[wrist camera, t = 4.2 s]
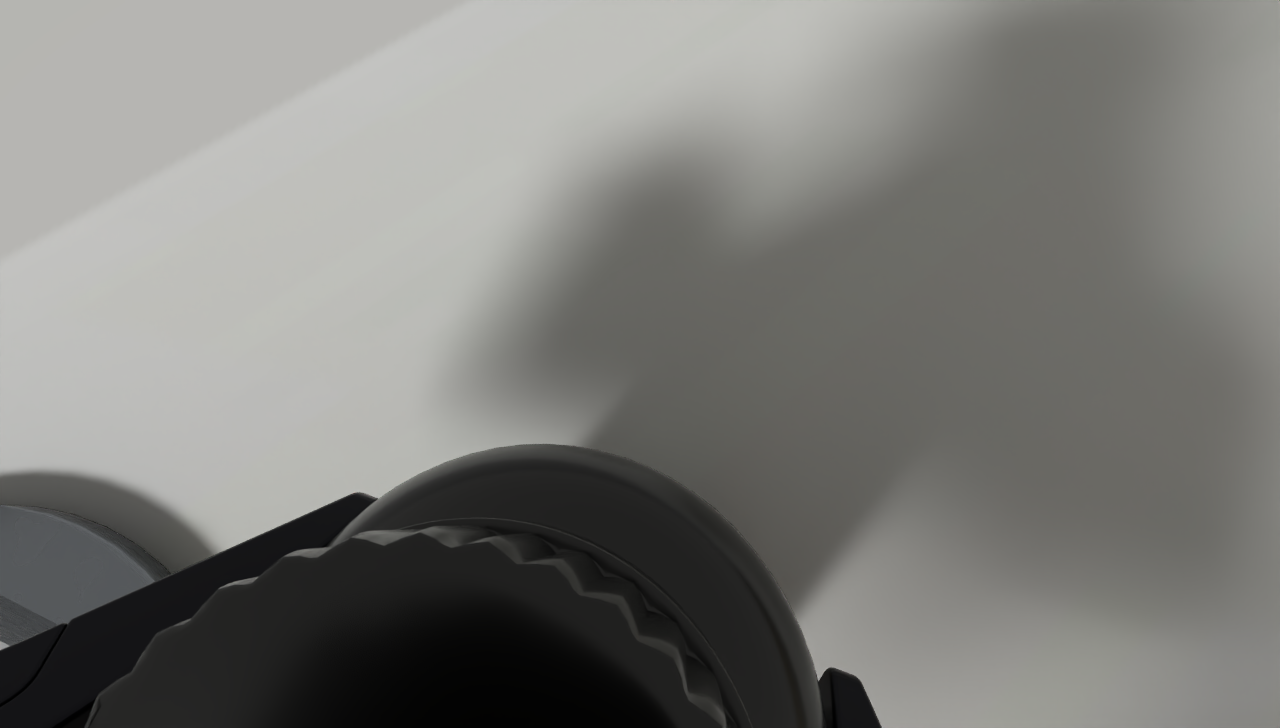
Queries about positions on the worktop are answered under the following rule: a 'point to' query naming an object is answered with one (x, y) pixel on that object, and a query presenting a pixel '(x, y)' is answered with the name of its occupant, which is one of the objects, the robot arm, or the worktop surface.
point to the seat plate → (62, 569)
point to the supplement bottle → (494, 615)
